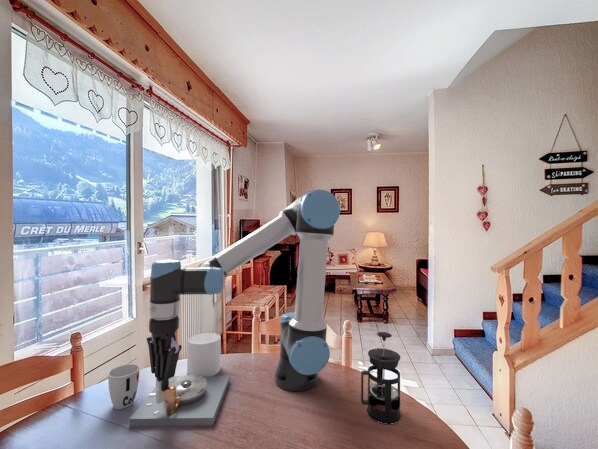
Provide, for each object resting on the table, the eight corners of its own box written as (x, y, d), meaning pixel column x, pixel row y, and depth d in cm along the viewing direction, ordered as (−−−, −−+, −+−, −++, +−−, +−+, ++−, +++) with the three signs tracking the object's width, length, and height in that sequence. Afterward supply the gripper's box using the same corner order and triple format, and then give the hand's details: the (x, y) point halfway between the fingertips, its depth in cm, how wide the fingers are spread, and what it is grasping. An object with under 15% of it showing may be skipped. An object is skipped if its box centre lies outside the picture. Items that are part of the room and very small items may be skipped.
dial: (176, 381, 95) (176, 361, 95) (212, 383, 94) (212, 363, 94) (147, 413, 79) (147, 389, 79) (190, 415, 78) (191, 391, 78)
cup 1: (124, 414, 82) (125, 378, 82) (100, 410, 84) (100, 375, 84) (145, 397, 90) (145, 365, 90) (122, 394, 92) (123, 362, 92)
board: (229, 381, 100) (229, 375, 100) (213, 425, 78) (213, 417, 78) (164, 382, 99) (164, 375, 99) (129, 426, 77) (129, 418, 77)
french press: (397, 404, 88) (397, 328, 88) (408, 425, 79) (408, 339, 79) (358, 403, 88) (358, 327, 89) (364, 424, 79) (365, 339, 79)
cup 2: (207, 360, 116) (207, 330, 116) (227, 369, 109) (227, 337, 109) (180, 372, 106) (180, 339, 106) (199, 382, 99) (200, 347, 99)
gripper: (138, 314, 81) (135, 399, 81) (165, 324, 74) (162, 417, 74) (163, 308, 87) (161, 387, 87) (190, 317, 80) (188, 402, 80)
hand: (161, 400), depth 81 cm, fingers closed
